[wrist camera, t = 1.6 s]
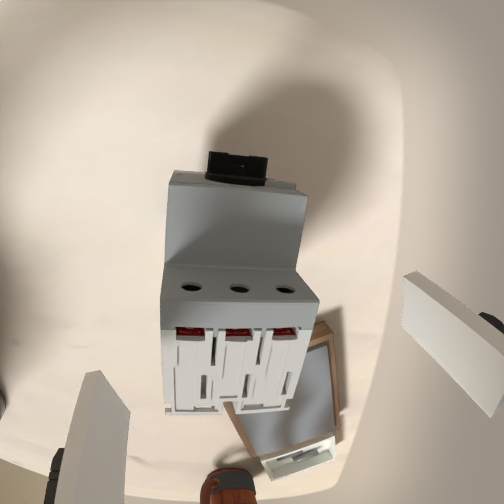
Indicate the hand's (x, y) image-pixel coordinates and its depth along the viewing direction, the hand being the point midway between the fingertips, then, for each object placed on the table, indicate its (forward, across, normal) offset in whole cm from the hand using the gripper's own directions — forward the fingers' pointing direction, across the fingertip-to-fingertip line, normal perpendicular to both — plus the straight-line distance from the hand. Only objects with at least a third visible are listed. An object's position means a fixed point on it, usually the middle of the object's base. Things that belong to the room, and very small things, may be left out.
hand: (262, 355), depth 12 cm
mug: (+18, -12, -42) cm, 47 cm away
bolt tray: (+18, +2, -40) cm, 44 cm away
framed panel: (+18, +1, -24) cm, 30 cm away
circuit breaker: (+18, 0, 0) cm, 18 cm away
